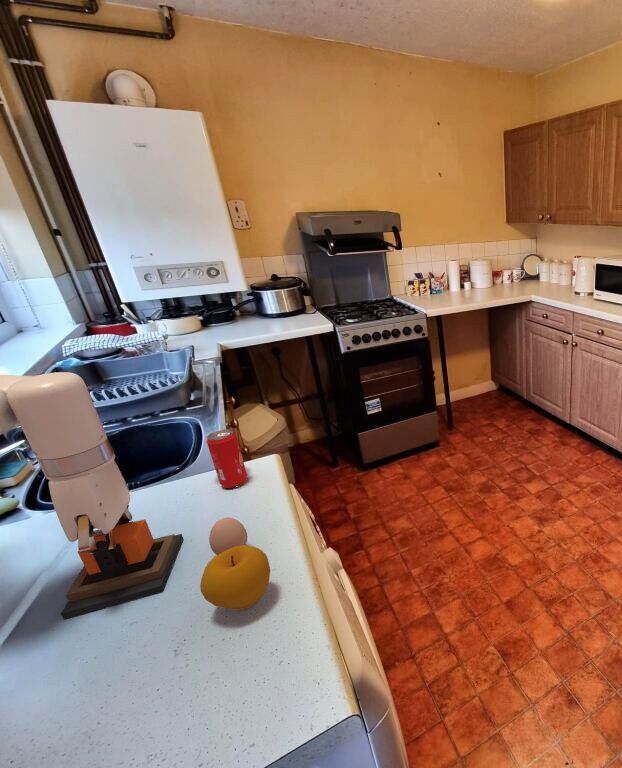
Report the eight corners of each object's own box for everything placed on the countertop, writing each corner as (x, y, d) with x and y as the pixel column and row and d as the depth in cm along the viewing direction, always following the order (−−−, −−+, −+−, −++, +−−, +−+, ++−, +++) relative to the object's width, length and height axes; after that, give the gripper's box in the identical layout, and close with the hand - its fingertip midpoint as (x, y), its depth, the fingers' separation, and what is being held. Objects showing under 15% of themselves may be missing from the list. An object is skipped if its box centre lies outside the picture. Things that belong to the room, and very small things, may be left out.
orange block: (88, 575, 66) (77, 552, 65) (102, 553, 71) (91, 531, 69) (144, 560, 69) (135, 537, 67) (154, 540, 73) (145, 518, 72)
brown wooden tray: (63, 619, 63) (55, 605, 62) (100, 559, 74) (94, 547, 73) (163, 591, 68) (157, 578, 67) (183, 538, 79) (179, 526, 78)
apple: (202, 633, 61) (183, 585, 58) (222, 586, 68) (206, 541, 65) (270, 617, 63) (255, 570, 60) (281, 574, 71) (269, 530, 67)
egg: (253, 557, 74) (242, 522, 71) (216, 571, 71) (203, 535, 69) (249, 539, 78) (239, 505, 76) (215, 552, 75) (203, 517, 73)
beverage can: (224, 478, 97) (209, 430, 92) (250, 474, 98) (237, 426, 94) (217, 492, 92) (201, 442, 88) (245, 487, 94) (230, 437, 89)
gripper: (72, 437, 69) (113, 530, 76) (8, 496, 54) (66, 605, 61) (130, 427, 72) (165, 518, 78) (85, 481, 57) (132, 586, 64)
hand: (121, 555), depth 70 cm, fingers closed on orange block, 5 cm apart
